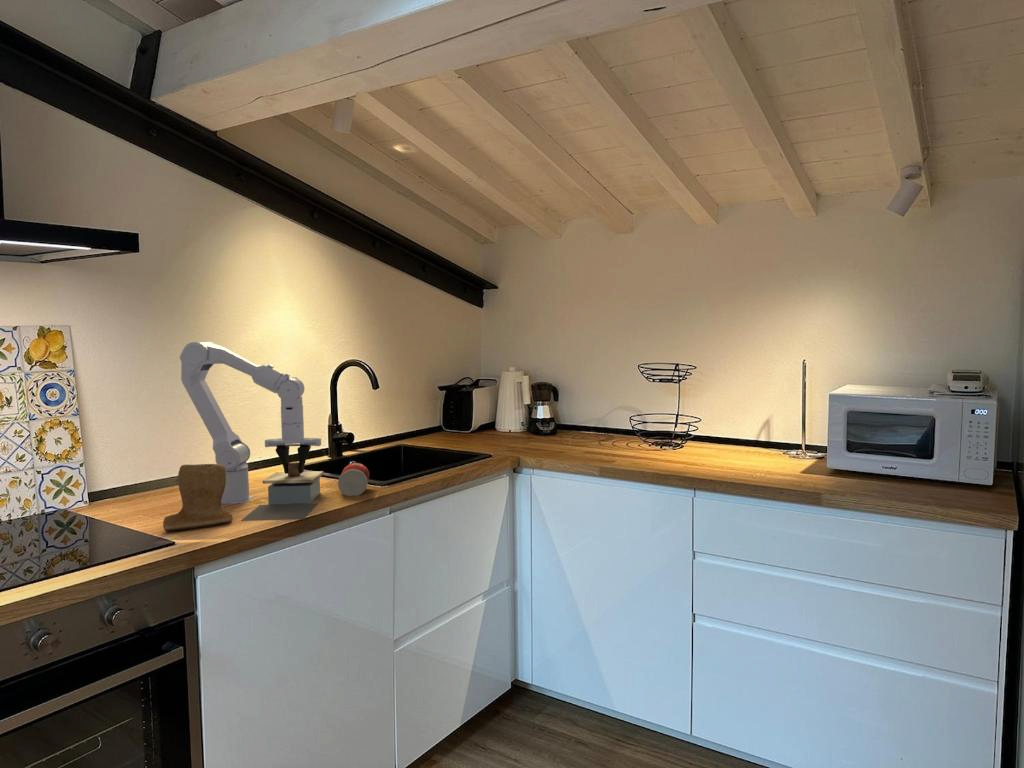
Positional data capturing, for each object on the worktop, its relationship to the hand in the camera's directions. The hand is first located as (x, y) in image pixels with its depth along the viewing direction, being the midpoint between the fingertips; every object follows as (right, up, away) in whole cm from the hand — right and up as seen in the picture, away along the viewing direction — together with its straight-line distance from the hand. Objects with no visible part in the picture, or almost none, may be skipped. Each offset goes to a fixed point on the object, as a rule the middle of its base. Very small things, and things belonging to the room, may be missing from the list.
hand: (294, 472), depth 186 cm
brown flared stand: (-16, -10, -23) cm, 30 cm away
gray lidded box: (0, -8, +1) cm, 8 cm away
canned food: (+14, -3, +14) cm, 19 cm away
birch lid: (0, -2, 0) cm, 2 cm away
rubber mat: (+1, -9, -13) cm, 16 cm away
